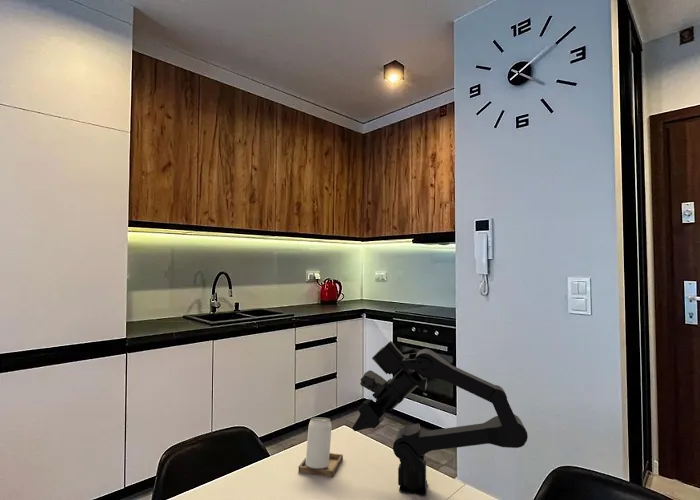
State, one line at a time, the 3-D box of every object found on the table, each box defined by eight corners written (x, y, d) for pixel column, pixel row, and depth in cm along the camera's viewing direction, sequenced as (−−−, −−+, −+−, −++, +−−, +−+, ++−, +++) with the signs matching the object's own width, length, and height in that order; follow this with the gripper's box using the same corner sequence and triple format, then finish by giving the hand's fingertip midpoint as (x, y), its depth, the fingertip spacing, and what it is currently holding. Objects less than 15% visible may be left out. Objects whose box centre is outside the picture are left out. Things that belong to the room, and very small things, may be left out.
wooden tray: (342, 459, 110) (342, 454, 111) (332, 477, 101) (332, 471, 101) (311, 455, 113) (311, 450, 113) (298, 472, 103) (298, 466, 104)
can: (326, 470, 101) (330, 421, 105) (302, 468, 102) (307, 419, 105) (330, 464, 108) (333, 418, 111) (307, 462, 108) (311, 416, 112)
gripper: (390, 355, 110) (355, 389, 114) (365, 370, 93) (325, 409, 97) (416, 386, 107) (379, 420, 111) (396, 408, 90) (353, 447, 94)
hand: (360, 423), depth 103 cm, fingers open, 9 cm apart
